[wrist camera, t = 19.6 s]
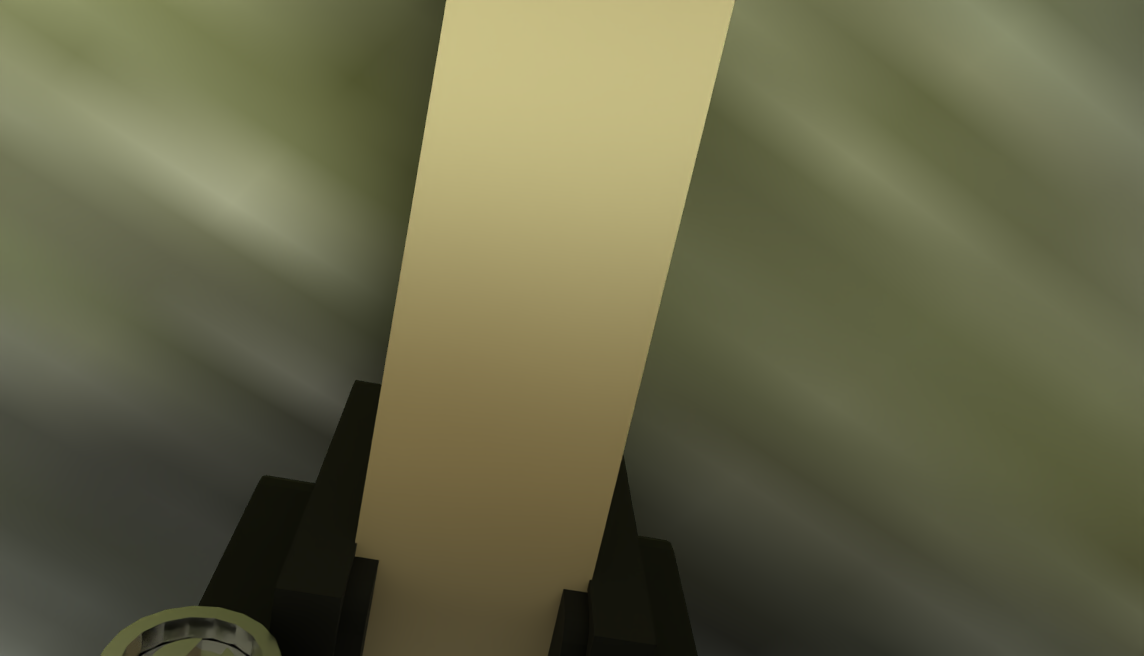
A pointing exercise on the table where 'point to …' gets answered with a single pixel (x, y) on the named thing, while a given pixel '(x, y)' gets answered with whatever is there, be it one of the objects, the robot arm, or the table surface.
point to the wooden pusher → (527, 309)
